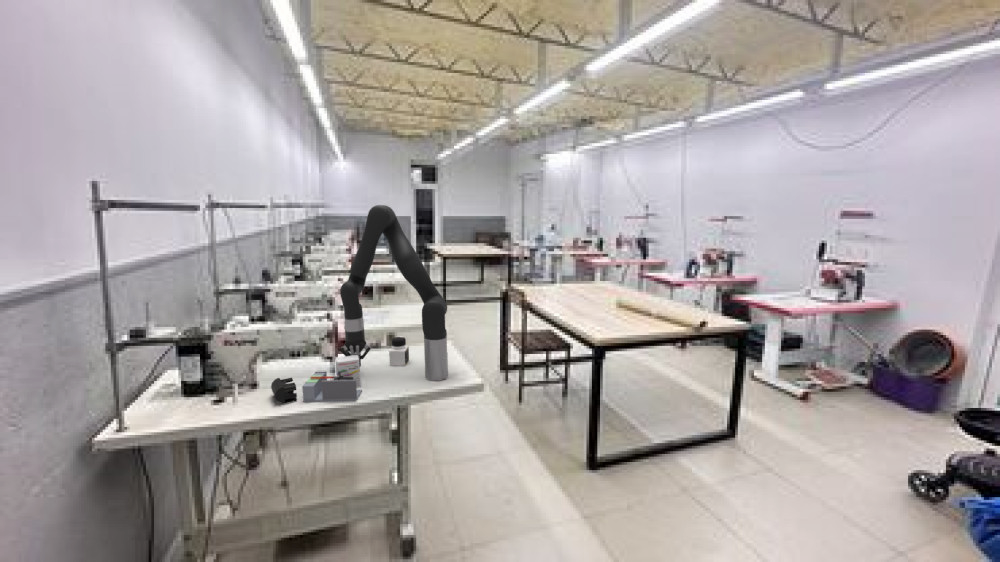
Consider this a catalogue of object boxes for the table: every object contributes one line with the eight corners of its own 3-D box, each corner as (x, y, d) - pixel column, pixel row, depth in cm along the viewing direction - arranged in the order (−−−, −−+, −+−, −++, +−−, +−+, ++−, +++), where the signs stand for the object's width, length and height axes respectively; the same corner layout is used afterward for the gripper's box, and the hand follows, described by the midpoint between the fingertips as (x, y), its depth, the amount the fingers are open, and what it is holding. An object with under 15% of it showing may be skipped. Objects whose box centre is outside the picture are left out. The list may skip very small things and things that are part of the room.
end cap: (271, 396, 161) (270, 379, 159) (292, 391, 165) (291, 375, 163) (275, 406, 153) (274, 388, 151) (297, 401, 157) (296, 384, 155)
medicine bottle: (405, 366, 190) (404, 340, 188) (389, 366, 190) (388, 340, 188) (409, 360, 197) (408, 335, 195) (393, 360, 197) (392, 335, 195)
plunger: (354, 389, 164) (353, 374, 163) (351, 393, 161) (350, 377, 160) (314, 390, 164) (312, 374, 162) (310, 394, 160) (309, 378, 159)
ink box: (337, 391, 165) (336, 361, 163) (337, 386, 170) (335, 357, 167) (361, 387, 169) (359, 358, 166) (359, 382, 173) (358, 354, 171)
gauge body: (366, 385, 170) (365, 366, 169) (356, 401, 157) (355, 380, 155) (317, 386, 169) (315, 367, 168) (303, 402, 156) (301, 381, 154)
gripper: (373, 325, 180) (375, 364, 183) (340, 326, 179) (343, 365, 182) (368, 330, 172) (371, 371, 175) (335, 331, 172) (338, 372, 175)
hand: (357, 368), depth 179 cm, fingers closed
